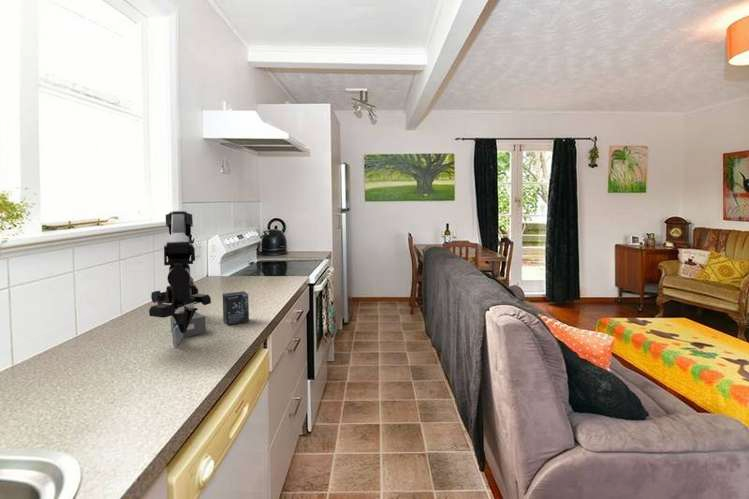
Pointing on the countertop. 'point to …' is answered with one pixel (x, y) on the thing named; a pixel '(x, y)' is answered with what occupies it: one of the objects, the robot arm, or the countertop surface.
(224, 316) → the box
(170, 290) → the robot arm
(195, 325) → the grey squat block
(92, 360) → the countertop surface
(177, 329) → the side door
